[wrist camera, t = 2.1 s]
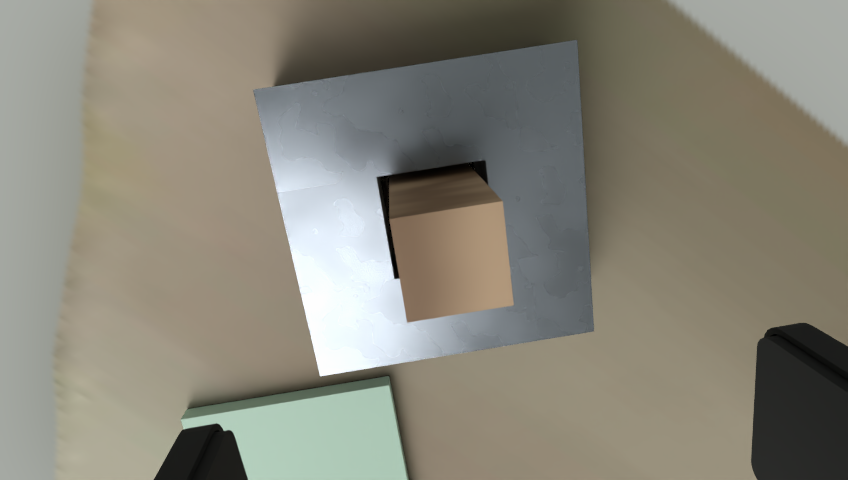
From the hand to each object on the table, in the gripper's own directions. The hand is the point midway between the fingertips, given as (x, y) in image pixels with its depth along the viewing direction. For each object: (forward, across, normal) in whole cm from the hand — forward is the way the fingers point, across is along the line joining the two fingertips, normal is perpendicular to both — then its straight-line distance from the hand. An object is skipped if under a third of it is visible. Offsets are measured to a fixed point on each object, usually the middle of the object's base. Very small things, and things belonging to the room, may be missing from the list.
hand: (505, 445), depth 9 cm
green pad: (+20, +10, +16) cm, 28 cm away
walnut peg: (+20, 0, 0) cm, 20 cm away
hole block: (+20, 0, 0) cm, 20 cm away
